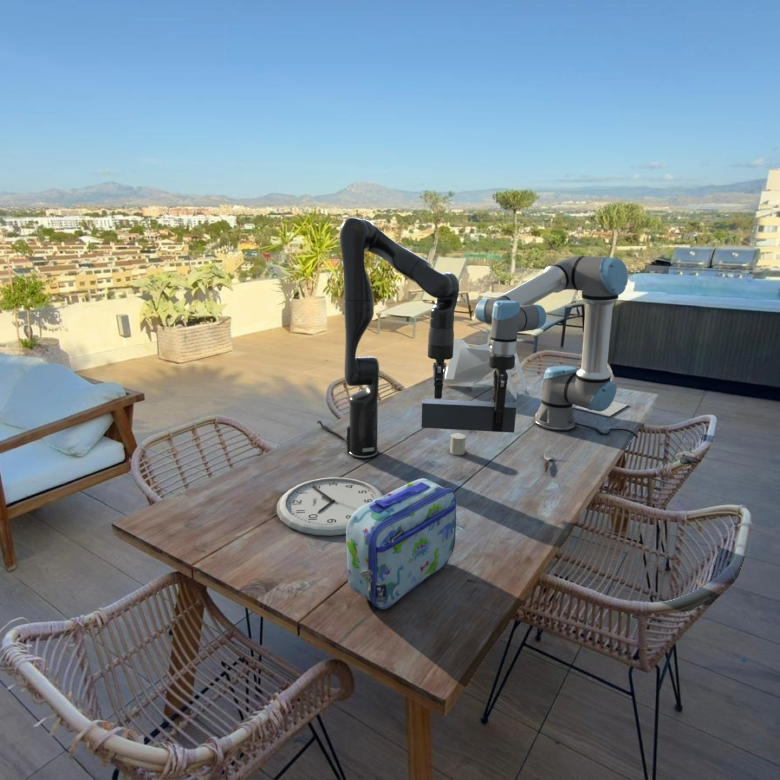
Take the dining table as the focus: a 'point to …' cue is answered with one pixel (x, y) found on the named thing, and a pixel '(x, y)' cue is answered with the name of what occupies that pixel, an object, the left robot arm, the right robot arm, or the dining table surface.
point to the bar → (465, 415)
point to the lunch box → (400, 540)
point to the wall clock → (324, 504)
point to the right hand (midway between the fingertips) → (496, 428)
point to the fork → (547, 459)
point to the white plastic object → (476, 366)
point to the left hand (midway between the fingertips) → (438, 394)
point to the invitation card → (609, 411)
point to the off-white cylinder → (457, 444)
